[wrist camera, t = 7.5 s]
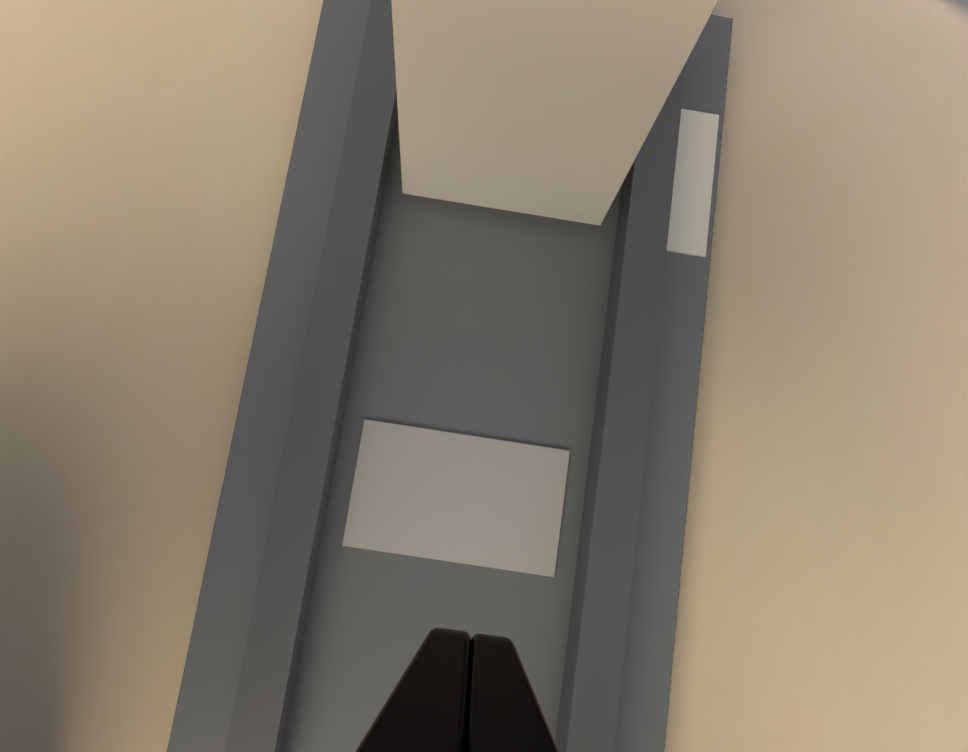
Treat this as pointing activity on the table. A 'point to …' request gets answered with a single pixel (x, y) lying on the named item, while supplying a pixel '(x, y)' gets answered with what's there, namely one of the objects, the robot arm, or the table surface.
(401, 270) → the switch housing
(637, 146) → the switch tab
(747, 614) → the table surface
